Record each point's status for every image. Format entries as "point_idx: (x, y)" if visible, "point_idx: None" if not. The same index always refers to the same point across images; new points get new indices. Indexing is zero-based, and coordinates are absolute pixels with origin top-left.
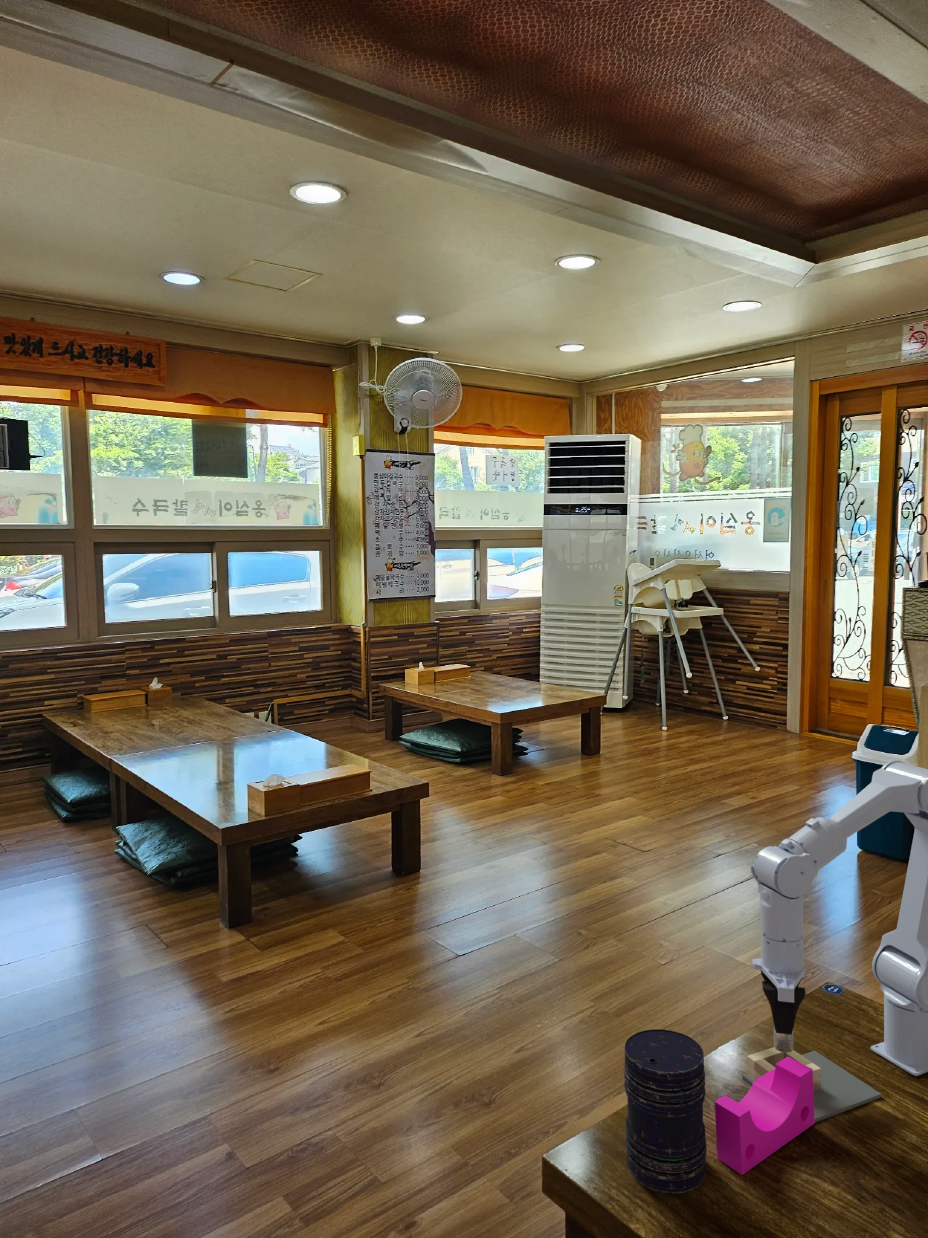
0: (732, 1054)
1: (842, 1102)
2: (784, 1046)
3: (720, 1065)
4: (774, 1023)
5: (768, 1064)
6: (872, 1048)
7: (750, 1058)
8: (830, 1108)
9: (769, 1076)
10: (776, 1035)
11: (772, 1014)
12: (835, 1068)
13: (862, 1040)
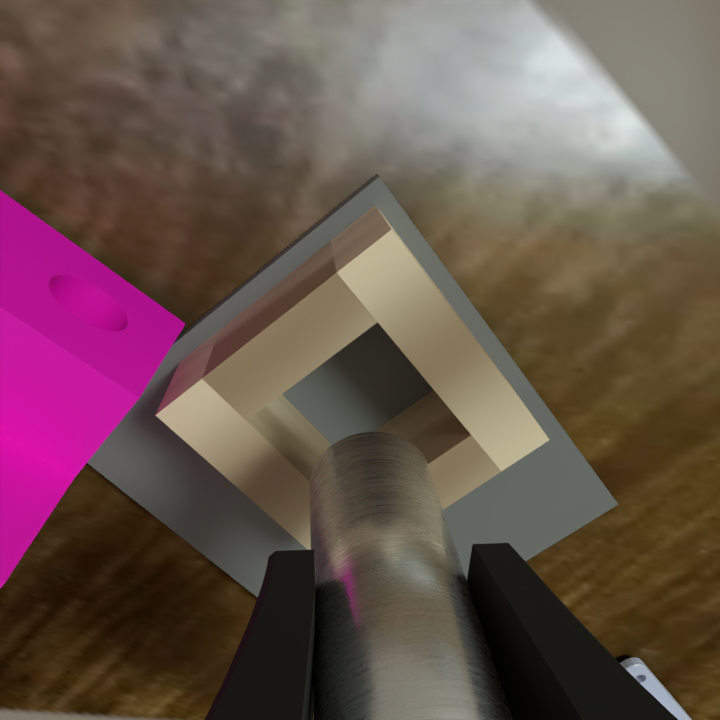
0: (609, 131)
1: (256, 568)
2: (310, 514)
3: (493, 49)
4: (252, 617)
5: (319, 352)
6: (629, 668)
7: (364, 250)
8: (199, 531)
9: (42, 375)
10: (341, 512)
11: (211, 712)
12: None
13: (699, 635)
